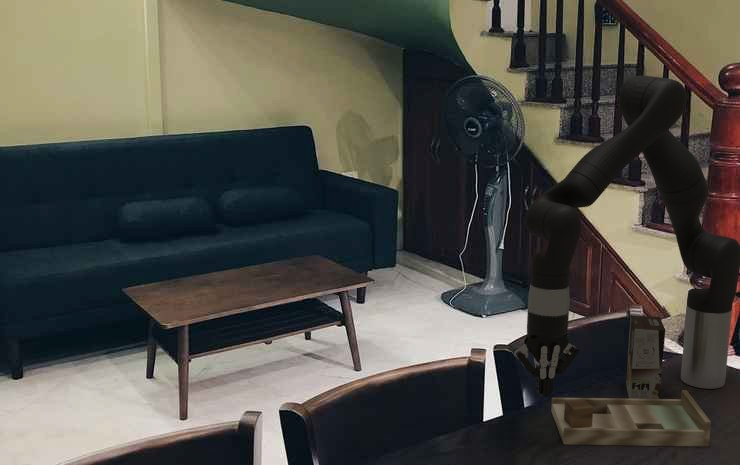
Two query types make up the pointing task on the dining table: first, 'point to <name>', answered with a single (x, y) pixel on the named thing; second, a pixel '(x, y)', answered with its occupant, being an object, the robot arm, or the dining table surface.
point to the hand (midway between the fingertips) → (543, 395)
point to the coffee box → (645, 357)
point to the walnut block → (578, 413)
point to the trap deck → (637, 422)
